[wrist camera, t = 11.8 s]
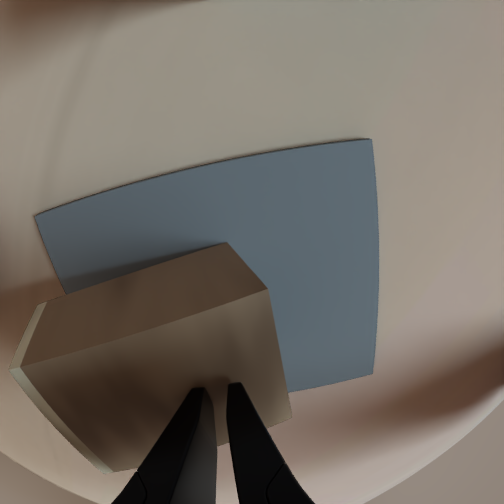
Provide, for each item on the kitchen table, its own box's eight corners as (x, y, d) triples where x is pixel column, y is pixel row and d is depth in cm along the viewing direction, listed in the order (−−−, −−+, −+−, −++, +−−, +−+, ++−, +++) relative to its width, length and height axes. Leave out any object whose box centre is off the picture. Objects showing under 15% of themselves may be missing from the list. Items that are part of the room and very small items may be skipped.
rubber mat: (370, 368, 15) (372, 373, 15) (133, 401, 16) (131, 406, 16) (367, 138, 10) (371, 139, 10) (39, 213, 11) (34, 216, 11)
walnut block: (292, 417, 11) (103, 473, 9) (256, 357, 14) (102, 406, 12) (268, 288, 8) (8, 370, 6) (227, 242, 12) (37, 304, 10)
